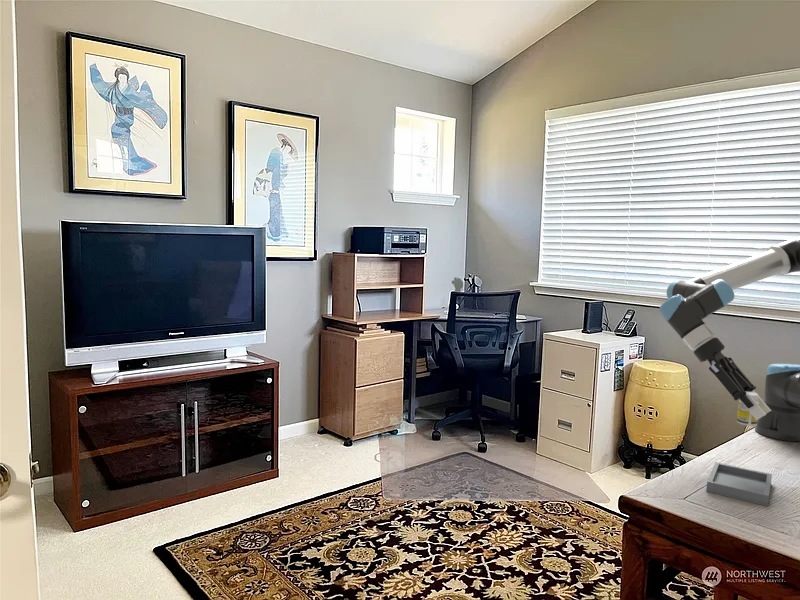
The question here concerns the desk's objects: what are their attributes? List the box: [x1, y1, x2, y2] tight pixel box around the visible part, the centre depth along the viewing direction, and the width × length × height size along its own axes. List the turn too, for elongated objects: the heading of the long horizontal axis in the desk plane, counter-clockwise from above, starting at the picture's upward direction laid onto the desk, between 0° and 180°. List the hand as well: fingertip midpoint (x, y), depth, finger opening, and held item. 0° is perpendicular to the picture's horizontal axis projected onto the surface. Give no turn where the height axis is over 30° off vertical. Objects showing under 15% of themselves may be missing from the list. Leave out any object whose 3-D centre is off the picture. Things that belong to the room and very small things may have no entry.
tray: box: [706, 461, 773, 507], centre depth 150 cm, size 16×13×2 cm
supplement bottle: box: [736, 391, 759, 427], centre depth 160 cm, size 5×5×8 cm
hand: (763, 415), depth 158 cm, fingers closed on supplement bottle, 5 cm apart
